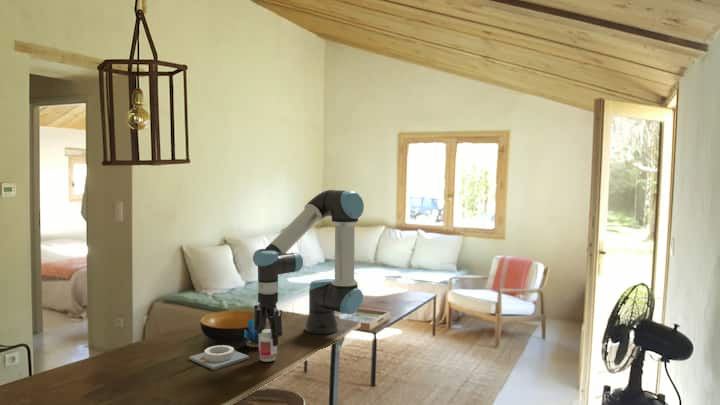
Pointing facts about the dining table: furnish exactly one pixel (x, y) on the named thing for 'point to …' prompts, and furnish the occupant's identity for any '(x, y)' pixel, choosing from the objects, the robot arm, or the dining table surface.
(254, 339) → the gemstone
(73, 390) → the dining table surface
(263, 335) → the pill bottle
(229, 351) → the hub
